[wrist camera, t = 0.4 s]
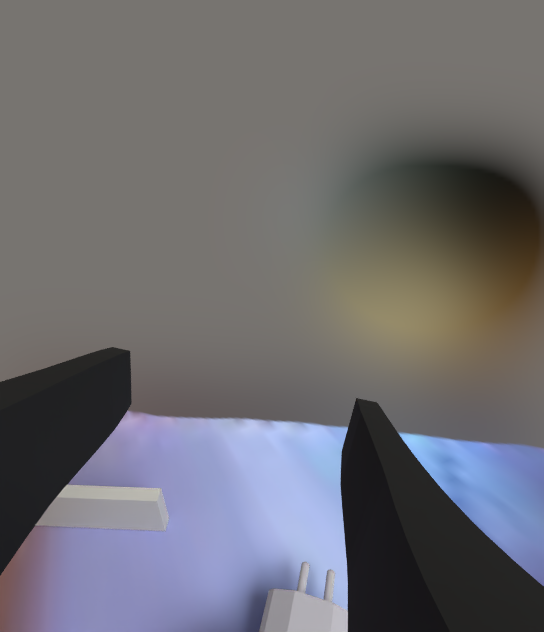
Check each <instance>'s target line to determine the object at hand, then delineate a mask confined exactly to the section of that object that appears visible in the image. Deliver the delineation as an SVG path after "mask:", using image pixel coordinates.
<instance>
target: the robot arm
mask: <svg viewBox="0 0 544 632" xmlns="http://www.w3.org/2000/svg"><path fill="white" fill-rule="evenodd" d="M130 405H131V368H130V351H128V350H123V349H118V348H114V347H112V348H107V349H104V350H100V351H96V352H93V353H90V354H87V355H84V356H81V357H78V358H75V359H72V360H69V361H66V362H63V363H60V364H57V365H54V366H51V367H48V368H45V369H42V370H38V371H35V372H32V373H28V374H25V375H22V376H18V377H15V378H12V379H9V380H5V381H2V382H0V575H1V574H2V572H3V571H4V569H5V568H6V566H7V565H8V563H9V562H10V561H11V559H12V558H13V556H14V555H15V553H16V552H17V550H18V549H19V547H20V546H21V545H22V543H23V542H24V540H25V539H26V537H27V536H28V535H29V533H30V532H31V530H32V529H33V528H34V526H35V525H36V524H37V522H38V521H39V519H40V518H41V517H42V515H43V514H44V513H45V511H46V510H47V508H48V507H49V506H50V504H51V503H52V502H53V501H54V499H55V498H56V497H57V496H58V495H59V493H60V492H61V491H62V490H63V488H64V487H65V486H66V485H67V484H68V483H69V482H70V481H71V479H72V478H73V477H74V476H75V475H76V474H77V473H78V471H79V470H80V469H81V468H82V467H83V466H84V465H85V463H86V462H87V461H88V460H89V459H90V458H91V457H92V455H93V454H94V453H95V452H96V451H97V450H98V449H99V447H100V446H101V445H102V444H103V443H104V442H105V440H106V439H107V438H108V437H109V436H110V434H111V433H112V432H113V431H114V430H115V428H116V427H117V425H118V424H119V422H120V421H121V419H122V418H123V416H124V415H125V413H126V412H127V410H128V408H129V407H130ZM341 496H342V509H343V521H344V533H345V545H346V557H347V573H348V632H544V586H542V585H541V584H540V583H539V582H538V581H536V580H535V579H534V578H533V577H532V576H531V575H530V574H528V573H527V572H526V571H525V570H524V569H523V568H521V567H520V566H519V565H518V564H517V563H516V562H515V561H513V560H512V559H511V558H510V557H509V556H508V555H507V554H506V553H505V552H504V551H503V550H502V549H501V548H499V547H498V546H497V545H496V544H495V543H494V542H493V541H492V540H491V539H490V538H489V537H488V536H486V535H485V534H484V533H483V532H482V531H481V530H480V529H479V528H478V527H477V526H476V525H475V524H474V523H473V522H472V521H471V520H470V519H469V518H468V517H467V516H466V515H465V513H464V512H463V511H462V510H461V509H460V508H459V507H458V506H457V505H456V504H455V503H454V502H453V501H452V500H451V499H450V498H449V497H448V495H447V494H446V493H445V492H444V491H443V490H442V489H441V488H440V486H439V485H438V484H437V483H436V482H435V481H434V479H433V478H432V477H431V476H430V474H429V473H428V472H427V471H426V470H425V468H424V467H423V466H422V465H421V463H420V462H419V461H418V460H417V458H416V457H415V456H414V454H413V453H412V452H411V450H410V449H409V448H408V446H407V445H406V444H405V442H404V441H403V440H402V438H401V437H400V435H399V434H398V433H397V431H396V430H395V428H394V427H393V425H392V424H391V422H390V421H389V419H388V418H387V416H386V415H385V413H384V412H383V410H382V409H381V407H380V406H379V405H378V403H376V402H372V401H367V400H362V399H358V398H356V402H355V405H354V409H353V413H352V416H351V420H350V423H349V427H348V431H347V434H346V438H345V442H344V445H343V449H342V459H341Z"/></svg>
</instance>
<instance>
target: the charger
mask: <svg viewBox="0 0 544 632" xmlns="http://www.w3.org/2000/svg"><path fill="white" fill-rule="evenodd" d="M309 566H310V565H309V564H308V563H307V562H303V563H302V566H301V571H300V577H299V582H298V587H297V591H295V590H285V589H270V590H269V592H268V596H267V601H266V605H265V609H264V613H263V617H262V621H261V625H260V630H259V632H348V611H347V610H345V609H343V608H341V607H340V606H338V605H336V604H334V603H332V598H333V588H334V579H335V572H334V571H333V570H328V571H327V576H326V584H325V592H324V600H323V599H320V598H317V597H314V596H311V595H308V594H305V590H306V584H307V578H308V572H309Z"/></svg>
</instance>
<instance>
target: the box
mask: <svg viewBox="0 0 544 632" xmlns="http://www.w3.org/2000/svg"><path fill="white" fill-rule="evenodd" d="M168 521H169V516H168V512H167V508H166V505H165V501H164V497H163V493H162V489H161V488H135V487H110V486H84V485H66V486H65V487H64V488H63V490H62V491H61V492H60V493H59V495H58V496H57V497H56V498H55V499H54V501H53V502H52V503H51V504H50V506H49V507H48V508H47V510H46V511H45V513H44V514H43V515H42V517H41V518H40V519H39V521H38V522H37V524H36V525H35V526H56V527H79V528H102V529H125V530H148V531H166V528H167V524H168Z"/></svg>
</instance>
